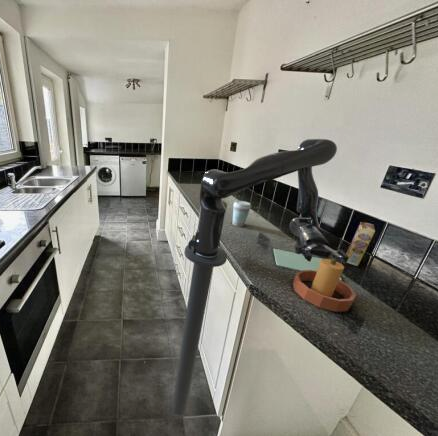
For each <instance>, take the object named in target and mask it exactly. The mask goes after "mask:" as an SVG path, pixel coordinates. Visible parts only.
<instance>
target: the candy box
mask: <svg viewBox="0 0 438 436" xmlns="http://www.w3.org/2000/svg"><path fill="white" fill-rule="evenodd" d="M375 233H376V228H375V224H372V223H369V222H364V221H360V222H359V225H358V226H357V229H356V231H355V232H354V236H353V237H352V240H351V242H350V244H349V246H348V249H347V251H346V252H345V253H346V255H347V256H348V257H349V259H348V261H347V263H346V264H349V265H352V266H354V267H359V265H360V263H361V261H362V259H363V258H364V255H365V253H366V251H367V249H368V247H369V245H370V243H371V241H372V239H373V238H374V235H375Z"/></svg>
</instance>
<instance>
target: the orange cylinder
mask: <svg viewBox="0 0 438 436" xmlns="http://www.w3.org/2000/svg"><path fill="white" fill-rule="evenodd" d="M321 259H322V261H321V263H320V266H319V268H318V271H317V273H316V276H315V279H314V281H313V282H312V284H311V286H310V289H311V290H313V291H315V292H318V293H320V294H322V295H324V296H328V297H332V298H333V295H334V292H335V288H336V286H337V283H338V281H339V279H340V277H342V274H343V272H344V269H345V267H344V266H343V265H342V264H340V263H338V262H337V260H336V259H337V258H335V259H334V258H332V260H330V259H326V258H321Z"/></svg>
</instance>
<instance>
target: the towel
mask: <svg viewBox="0 0 438 436" xmlns="http://www.w3.org/2000/svg"><path fill="white" fill-rule="evenodd" d="M272 250H273V254H274V259H275V263H276V267H281V268H286V269H289V270H293V271H298V272H299V271H301V270H313V271H318V268H319V266H320V263H321V261H322V259H323V258H322V257H317V256H312V259H311V261H310V262H309V261H307V259H305V258H304V256H303V255H302V254H296V252H293V251H287V250H283V249H278V248H273V249H272ZM340 280H341V281H342V280H343V279H342V276H340Z"/></svg>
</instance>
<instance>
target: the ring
mask: <svg viewBox="0 0 438 436" xmlns="http://www.w3.org/2000/svg"><path fill="white" fill-rule="evenodd" d="M316 273H317V271H313V270H301V271H298V272H297V273H295V276H294V279H293V281H292V286H293V287H292V288H293V290H294V292H295V293H296V294H297V295H298V296H300V297H301V299H303V300H304V301H306V302H308V303H310V304H311V305H314V306H315V307H317V308H320V309H323V310H327V311H330V312H335V313H338V312H339V313H340V312H349V310H350V308H351V307H352V305H353V303H354V301H355V299H356V298H357V294H356V292H355V291H354V289H353V288H352V287H351V286H350V285H348V284H347V283H346V282H345V281H341V280H340V279H339V281H338V283H337V286H336V288H335V290H334V292H336V293H338V294H339V295H341V297H343V298H340V299H338V298H335V297H333V296H332V297H328V296H324V295H322V294H320V293H318V292H315V291H313V290H311V287H308V285H306V284H305V283H304V282H312V283H313V281H314V279H315V276H316Z"/></svg>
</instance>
